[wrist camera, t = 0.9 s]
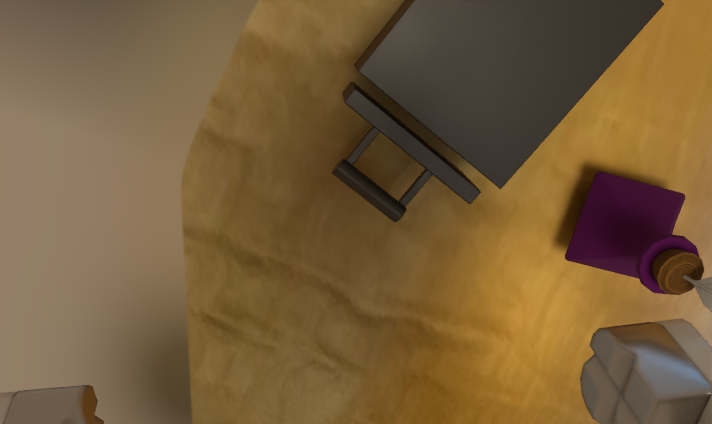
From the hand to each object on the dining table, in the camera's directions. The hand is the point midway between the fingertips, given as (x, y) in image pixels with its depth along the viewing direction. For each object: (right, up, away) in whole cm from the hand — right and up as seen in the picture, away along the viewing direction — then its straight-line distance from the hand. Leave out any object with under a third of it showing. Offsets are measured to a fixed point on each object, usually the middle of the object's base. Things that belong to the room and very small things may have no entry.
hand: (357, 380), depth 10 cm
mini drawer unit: (+10, +16, +39) cm, 43 cm away
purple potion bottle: (+21, +2, +43) cm, 48 cm away
